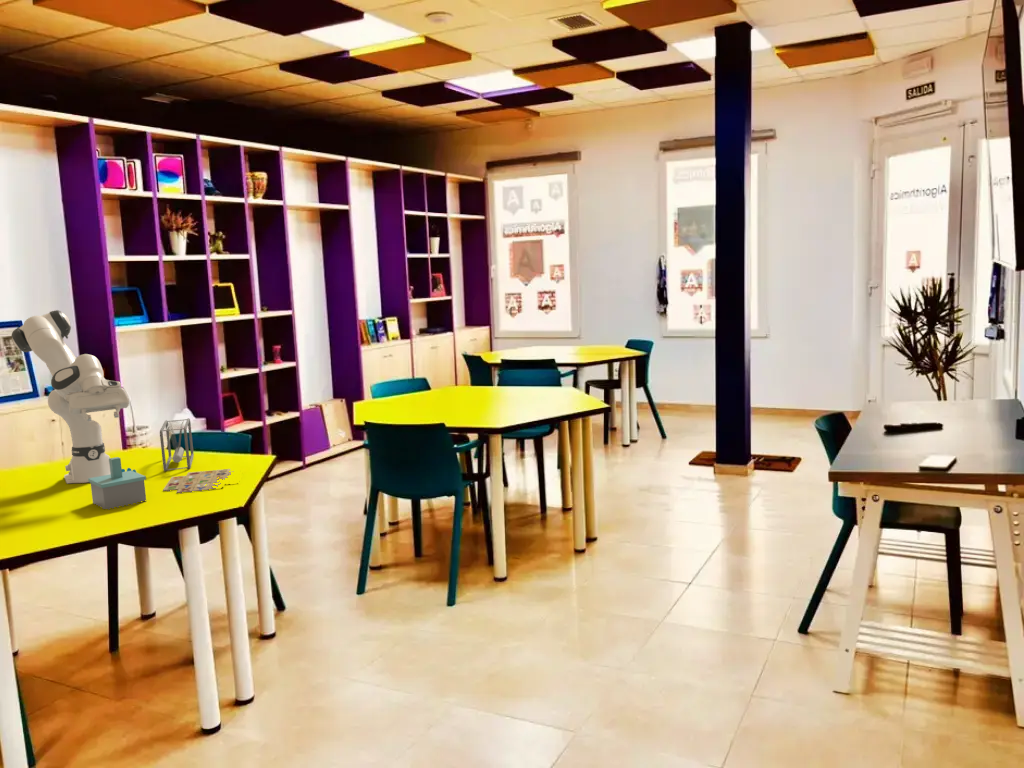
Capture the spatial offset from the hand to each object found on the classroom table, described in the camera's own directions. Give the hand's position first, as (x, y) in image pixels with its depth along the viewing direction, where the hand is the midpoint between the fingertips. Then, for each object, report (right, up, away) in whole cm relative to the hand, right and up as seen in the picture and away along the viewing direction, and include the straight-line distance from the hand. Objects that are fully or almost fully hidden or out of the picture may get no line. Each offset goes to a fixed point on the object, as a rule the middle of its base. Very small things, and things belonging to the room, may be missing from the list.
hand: (103, 418), depth 312 cm
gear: (+3, -28, +14) cm, 32 cm away
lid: (+8, -22, -7) cm, 25 cm away
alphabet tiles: (+30, -26, +21) cm, 45 cm away
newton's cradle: (+6, -22, +56) cm, 61 cm away
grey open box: (+9, -30, -6) cm, 32 cm away
